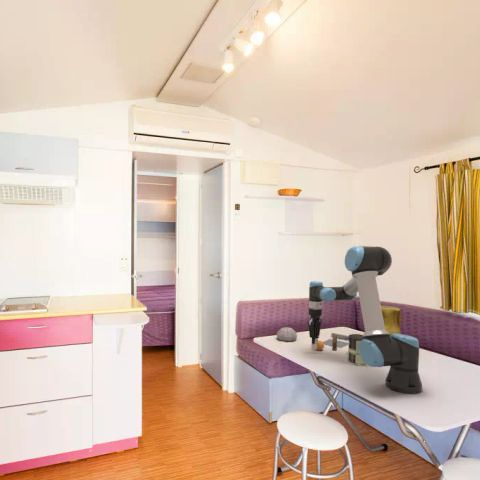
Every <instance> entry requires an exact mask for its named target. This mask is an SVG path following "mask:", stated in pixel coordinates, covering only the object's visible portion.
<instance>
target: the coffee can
mask: <svg viewBox="0 0 480 480" xmlns="http://www.w3.org/2000/svg"><path fill="white" fill-rule="evenodd" d="M348 336H349V341H348V343H349V344H348V351H347V356H348V357H347V362H348V364H351V365H353V366H359V367H360V366H361V367H364V366H368V365H367V364H366V363H365V362H364V361H363V360H362V358H361V356H360V353H359V344H360V342H361V341H362V340H363V337H362V336H363V334H359V333H351V334H349V335H348Z"/></svg>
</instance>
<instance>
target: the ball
mask: <svg viewBox="0 0 480 480" xmlns="http://www.w3.org/2000/svg"><path fill="white" fill-rule="evenodd" d="M323 342H324V341H322V340H318V341H317V351H322V350H323V349H324V348H325V344H324V343H323Z"/></svg>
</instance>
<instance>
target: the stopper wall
mask: <svg viewBox="0 0 480 480" xmlns="http://www.w3.org/2000/svg"><path fill="white" fill-rule="evenodd" d="M333 334H336V335H337V340H338V339H339V340H344V341H347V342H349V335H346V334H345V335H344V334H340V333H335V332H332V333H331V335H330V337H331V338H333Z"/></svg>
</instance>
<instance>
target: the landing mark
mask: <svg viewBox="0 0 480 480" xmlns="http://www.w3.org/2000/svg"><path fill="white" fill-rule="evenodd" d="M332 341H333V338H332V339H331V338H329V339H326V340H323V341H322V342H323V343H324V346H329V347H330V346H331V347H332ZM346 346H349V342H348V341H347V342H345V341H341V340H337V348H338V349H341V348H344V347H346Z"/></svg>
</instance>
